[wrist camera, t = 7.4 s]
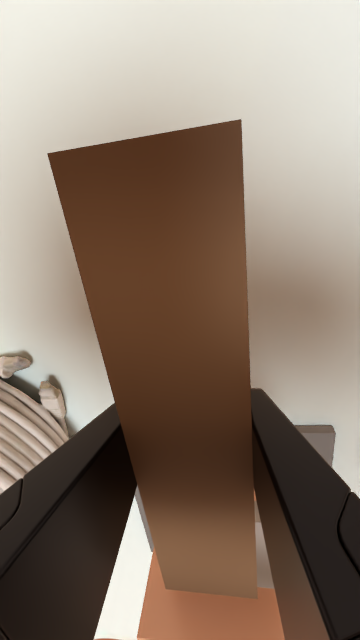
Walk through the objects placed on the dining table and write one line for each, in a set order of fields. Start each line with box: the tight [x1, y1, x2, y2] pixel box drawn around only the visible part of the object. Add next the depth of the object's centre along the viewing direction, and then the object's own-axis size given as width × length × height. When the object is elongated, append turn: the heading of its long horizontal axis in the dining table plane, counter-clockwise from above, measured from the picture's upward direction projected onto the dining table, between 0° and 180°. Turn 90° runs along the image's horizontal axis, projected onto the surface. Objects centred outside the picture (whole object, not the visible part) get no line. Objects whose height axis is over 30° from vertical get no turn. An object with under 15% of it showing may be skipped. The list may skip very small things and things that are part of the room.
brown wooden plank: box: [47, 119, 274, 599], centre depth 9 cm, size 16×5×3 cm, turn 8°
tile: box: [137, 491, 285, 640], centre depth 16 cm, size 7×2×9 cm, turn 98°
